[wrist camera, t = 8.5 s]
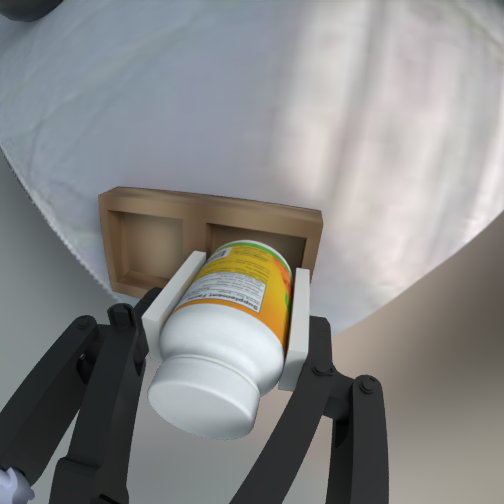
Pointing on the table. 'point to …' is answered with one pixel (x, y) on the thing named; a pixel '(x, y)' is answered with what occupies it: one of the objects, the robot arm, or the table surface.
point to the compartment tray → (194, 233)
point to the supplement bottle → (225, 342)
